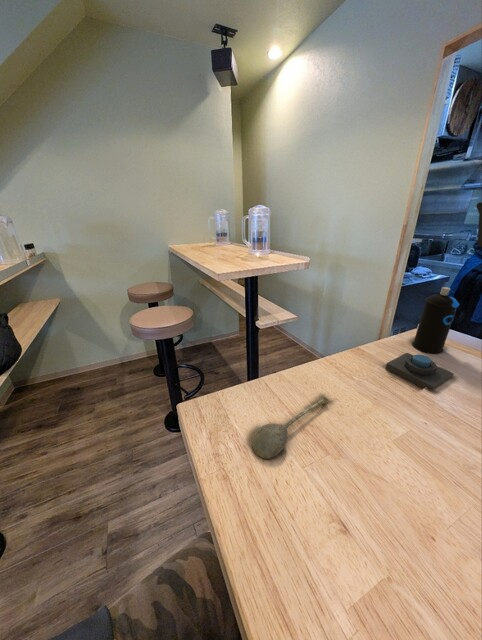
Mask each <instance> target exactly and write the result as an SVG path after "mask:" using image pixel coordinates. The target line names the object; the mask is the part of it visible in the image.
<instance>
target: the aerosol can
mask: <svg viewBox="0 0 482 640" xmlns="http://www.w3.org/2000/svg"><path fill="white" fill-rule="evenodd" d="M450 291H451V288H450V287H446V286H442V287H441V289H440V293H436V294H432V295H429V296H428V297H426V298H424V306H423V309H422V312H421V316H420V319H419V324H418V326H417V329H416V333H415V336H414V340H413V341H412V342H411V345H412V347H413V348H415V349H416V350H417V351H420V352H423V353H426V354H430V355H438V354H442V353H443V352H444V346H445V344H446V341H447V338H448V335H449V332H450V329H451V327H452V324H453V321H454V318H455V316H456V313H457V311H458V307H460V303H459V302H458V300H457V299H456V298H455V297H453V296H451V295H449V294H450Z"/></svg>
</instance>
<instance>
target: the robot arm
mask: <svg viewBox="0 0 482 640" xmlns="http://www.w3.org/2000/svg"><path fill="white" fill-rule="evenodd" d="M475 206H476V210H477V212H478V214H479V215H478V227H477V228H478V230H477V231H478V232H477V247H478V248H482V201H480V202H477V203H476V205H475ZM481 281H482V278H481Z"/></svg>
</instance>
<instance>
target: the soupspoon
mask: <svg viewBox="0 0 482 640" xmlns="http://www.w3.org/2000/svg"><path fill="white" fill-rule="evenodd" d="M329 402H330V401H329V398H328V397H326V396H323V397H322V398H321V400H319V401H316V402H315V403H313V404H312V405H310V406H309V407H307V408H306V409H304V410H303V411H301V412H300V413H298V414H297V415H295V416H294V417H292V418H291V419H289V420H288V421H287V422H286V423H284V424H283V425H281V424H279V423H266V424H264V425H262V426H260V427H259V428H258V429H257V430H256V431H255V433H254V434H253V437H252V441H251V445H252V449H253V451H254V453H255V454H256V455H257V456H258V457H259V458H262V459H265V460H270V459H273V458H274V457H276V456H277V455H279V454H280V453H281V452H282V451H283V449H284V448H285V447H286V444H287V442H288V437H289V434H288V430H287V429H288V428H289V427H291V425H293V424H294V423H295V422H296V421H297V420H299V419H300V418H302V417H303V416H305V415H306V414H308V412H310V411H311V410H313V409H315V408H316V407H319V406H321V405H328V404H329Z"/></svg>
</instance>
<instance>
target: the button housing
mask: <svg viewBox="0 0 482 640" xmlns="http://www.w3.org/2000/svg"><path fill="white" fill-rule="evenodd" d="M414 355H415V354H411V353H409V352H405V353H404V354H402V355H400V356H398V357H396V358H393V359H392V360H390V361H388V362H386V364H385V368H384V369H385V370H386V371H388V372H390V373H391V374H392V375H395V376H397V377H399V378H401V379H403V380H404V381H406V382H408V383H410V384H411V385H413V386H416V387H417V388H419V389H421V390H424V389H427V390H429V391H432V392H433V391H435V390H436V389H437V388H439V387H441V386H442V385H443V384H445V383H446V382H448V381H449V380H451V379H452V378H453V377H454V375H455V373H454V372H452V371H450V370H447V369H445V368H442V367H440V366H438V365H437V364H436V363H435V361H433V360H432V359H431V363H430V366H429V367H428V368H424V367H419V366H417V365H415V364H413V363H412V359H413V356H414Z"/></svg>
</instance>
